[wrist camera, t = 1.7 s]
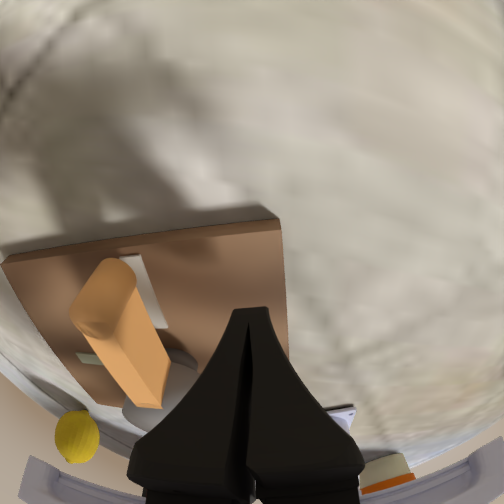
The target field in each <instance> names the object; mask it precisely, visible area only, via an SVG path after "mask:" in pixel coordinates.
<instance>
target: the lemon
mask: <svg viewBox="0 0 504 504" xmlns="http://www.w3.org/2000/svg"><path fill="white" fill-rule="evenodd" d="M99 439H100V435H99V430H98V427H97V424H96V423H95V421H94V420H93V419H92V418H91V417H90V415H89V413H88V411H86V410H81V411H69V412H67V413H65V414H64V415H63V416H62V417H61V418H60V420H59V422H58V423H57V426H56V430H55V443H56V446H57V449H58V450H59V452H60V453H61V455H62V456H63V457H65V459H66V461H67V462H68V463H71V464H72V463H83V462H86V461H88V460H90V459H91V458H92V457H93V455H94V454H95V452H96V450H97V448H98V445H99Z"/></svg>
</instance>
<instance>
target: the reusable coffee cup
mask: <svg viewBox="0 0 504 504" xmlns="http://www.w3.org/2000/svg"><path fill="white" fill-rule="evenodd" d="M359 476H360V490H361V492H362V495H365V494H369V493H373V492H377V491H380V490H384V489H387V488H391V487H394V486H397V485H401V484H404V483H407V482H410V481H412V480H415V479H416V478H415V476H414V473H411V472H410V469H409V467H408V464H407V462H406V460H405V457H404V455H403V453H398V454H392V455H388V456H385V457H382V458H379V459H376V460H373V461H371V462H368V463H366V464H365V468H364V470H363V471H362V472H361V473H360V474H359Z"/></svg>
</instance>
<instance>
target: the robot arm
mask: <svg viewBox="0 0 504 504" xmlns="http://www.w3.org/2000/svg"><path fill="white" fill-rule="evenodd" d="M355 413H356V407H349V408H343V409H337V410H331V411H325V410H324V409H323V408H322V406H321V405H320V404H319V403H318V402H317V400H316V399H315V398H314V397H313V396H312V394H311V393H310V392H309V390H308V389H307V388H306V386H305V385H304V384H303V382H302V381H301V379H300V378H299V376H298V375H297V373H296V372H295V370H294V368H293V367H292V365H291V363H290V362H289V360H288V358H287V356H286V354H285V352H284V351H283V349H282V346H281V344H280V342H279V340H278V338H277V336H276V333H275V331H274V328H273V325H272V322H271V319H270V315H269V308H268V307H266V306H261V307H250V308H238V309H234V310H233V311H232V314H231V317H230V319H229V322H228V324H227V327H226V329H225V331H224V333H223V336H222V338H221V340H220V342H219V344H218V346H217V348H216V350H215V351H214V353H213V355H212V357H211V358H210V360H209V362H208V363H207V365H206V367H205V368H204V370H203V372H202V373H201V375H200V376H199V378H198V379H197V380H196V382H195V383H194V384H193V386H192V387H191V389H190V390H189V391H188V392H187V393H186V395H185V396H184V397H183V398H182V400H181V401H180V402H179V403H178V404H177V405H176V406H175V408H174V409H173V410H172V411H171V412H170V413H169V414H168V415H167V416H166V417H165V418H164V419H163V420H162V421H161V422H160V423H159V424H157V425H156V426H155V427H154V428H153V429H152V430H150V431H149V432H148V433H147V434H146V435H144V436H143V437H142V438H141V439H140V440H138V441H137V442H136V443H135V445H134V448H133V451H132V453H131V456H130V461H129V466H128V470H127V477H128V478H129V480H131V481H132V482H134V483H136V484H138V485H140V486H142V487H144V488H146V489H147V495H146V498H145V497H141V496H136V495H132V494H128V493H124V492H120V491H117V490H113V489H110V488H106V487H103V486H99V485H97V484H94V483H90V482H88V481H85V480H82V479H79V478H76V477H74V476H71V475H69V474H66V473H64V472H61V471H59V469H57V468H55V467H53V466H52V465H50V464H48V463H46V462H44V461H42V460H40V459H38V458H36V457H34V456H31V455H30V456H29V459H28V462H27V465H26V468H25V471H24V475H23V478H22V482H21V486H20V490H19V493H18V497H19V498H20V499H22V500H23V501H25V502H26V503H28V504H252V503H253V502H254V501H255V500H256V499H260V501H261V502H262V503H263V504H489V503H490V502H492V501H493V500H495V499H496V498H498V497H499V496H500V495H502V494H503V493H504V441H503V438H502V437H501V436H499V437H498V438H496V439H494V440H493V441H491V442H489V443H487V444H486V445H484V446H482V447H480V448H479V449H477V450H476V451H474V452H473V453H471V454H470V455H469V456H468V457H467V458H465V459H463V460H460V461H458V462H456V463H454V464H452V465H450V466H448V467H445V468H443V469H441V470H439V471H436V472H434V473H431V474H428V475H426V476H423V477H421V478H418V479H415V480H412V481H410V482H407V483H404V484H401V485H397V486H394V487H391V488H387V489H384V490H380V491H377V492H373V493H369V494H365V495H362V492H361V490H359V479H358V475H359V474H360V473H361V472H362V471H363V470H364V468H365V463H364V459H363V457H362V454H361V452H360V450H359V448H358V446H357V445H356V443H355V441H354V439H353V438H352V437H351V436H350V432H349V428H350V425H351V423H352V421H353V418H354V416H355ZM255 481H256V491H255Z"/></svg>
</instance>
